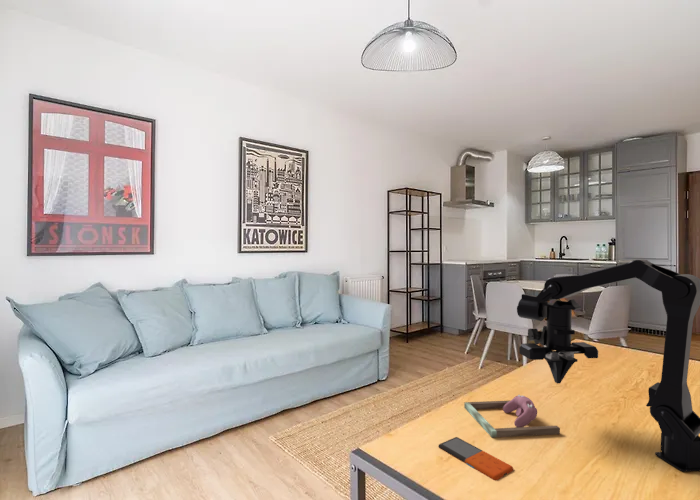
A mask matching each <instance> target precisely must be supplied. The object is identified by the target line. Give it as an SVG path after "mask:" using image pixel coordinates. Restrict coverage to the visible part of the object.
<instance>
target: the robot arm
mask: <svg viewBox="0 0 700 500" xmlns="http://www.w3.org/2000/svg"><path fill="white" fill-rule="evenodd" d="M632 279H638V280H640V281H641V282H643V283H645V284H646V285H648V286H649V287H650V288H652V289H654V290H656V291H658V292H661V297H662V298H661V299H662V304H663V307H664V312H665V314H666V324H665V325H666V327H665V337H664V348H663V357H662V358H663V359H662V367H661V376H660V382H659V381H657V382H656V383H655V384H652V385H651V386H649V387H648V390H647V391H648V393H647V394H648V402H647V403H646V405H645V406H646V407H649V412H650V416H651V417H652V418H653V419H654V420H655V422H657V423H658V426H659V428H660V429H659V430H660V432H661V433H660V451H655V453H654V455H655V456H656V457H658V458H659V459H660V460H663V461H664V462H666V463H667V464H669V465H670V466H672V467H674V468H676V469H677V470H678V471H680V472H684V473H685V472H700V471H699V470H700V416H699V415H698V414H697V413H696V412H694V410H693V403H692V396H691V391H690V389H689V386H688V375H689V374H688V373H689V364H690V353H691V346H692V345H691V344H692V334H693V323H694V318H695V316H696V314H697V312H698V310H699V307H700V278H699V277H698V276H696V275H693V274H689V273H687V274H686V273H683V274H681V273H679V272H676V271H674V270H671V269H668V268H666V267H662V266H660V265H658V264H655V263H653V262H651V261H649V260H647V259H635V260H634V259H633V260H631V261H629V262H626V263H623V264H617V265H614V266H611V267H607V268H603V269H599V270H595V271H591V272H586V273H583V274H573V275H562V276H561V275H560V276H553V277H549V278H547V279H546V280H545V283H544V286H543V288H542V289H541V291H540V292H539V293H538V295H532V294H530V293H523V294H521V298H520V299H519V301H518V304H517V306H516V314H517V316H518V317H519V318H523V319H528V320H534V321H539V322H542V321H544V320H545V319H546V325H543V328H542V331H541V330H540V331H538V329H537V328H529V329H527V338H528V340H529V342H530V343H528V342H527V343H525V342H524V343H521V344H520V346H519V349H518V350H519V352H518V353H519V355H522V356H523V357H525V358H527V359H529V360H531V361H538V360H539V361H541V360H545V361H546V362H547V365H548V367H549V369H550V372H551V375H552V378H553V381H554V383H555V384H558V385H559V384H561V383H562V382H563V380H564V378H565V377H566V375H567V373H568V371H569V370H570V369H571V368H572V366H573V365H574V364H575V363H577V362H578V360H579V359H578V358H575V355H578V354H581V355H582V354H583V355H584V356H585V357H586V358H587V359H598V358H599V350H598V348H597V347H596V346H595V345H592V344H589V343H587V342H583V341H581V342H580V341H579V342H578V341H575V342H572V335H575V334H576V333H575V332H576V331H575V330H574V329H572V317H573V316H572V315H573V314H572V313H573V311H576V310H580V309H582V306H581V305H580V304H579V303H578V302H577V301H576V300H575V299H573V298H572V299H569V300H568V301H564V300H561V299H566V298H570V297H573V296H576V295H578V294H581V293H583V292H585V291H586V290H589V289H592V288H596V287H602V286H605V285H610V284H615V283H617V282H618V283H619V282H624V281H628V280H632ZM555 300H556V301H555ZM549 301H550V302H549ZM551 301H554V302H551ZM531 341H533V342H531ZM541 345H542V346H541Z"/></svg>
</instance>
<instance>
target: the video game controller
mask: <svg viewBox="0 0 700 500" xmlns="http://www.w3.org/2000/svg"><path fill="white" fill-rule="evenodd" d="M510 400H511V401H510ZM510 400H508V401H509V402H508V403H506V404H505V405H504V406H503V408H502V410H503V413H506V414H507V413H508V414H509V413H513V412H515V415H516V416H517V417H516V419H515V420H514V426H515V428H516V427H527V425H529V424H530V423H531V422H533V421H534V420H536V419H537V418H536V417H537V416H538V408H537V407H536V406H535V404H534V403H535V402H533V401H532V399H531V398H529V397H528V396H525V395H520V394H518V395H516V396H514V397H513V398H512V399H510Z"/></svg>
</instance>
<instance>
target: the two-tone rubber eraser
mask: <svg viewBox="0 0 700 500" xmlns="http://www.w3.org/2000/svg"><path fill="white" fill-rule="evenodd" d="M438 448H439V449H440V450H442V451H444V452H445V453H447V454H449V455H450V456H452V457H453V458H456V459H458V460H459V461H460V462H461V463H464V464H466V465H468V467H471V468H473V469H474V470H475V471H477V472H479V473H481V474H483V475H485V476H486V477H488V478H490V479H492V480H493V481H498V480H499V479H501V478H503V477H504V476H505V475H508V474H510V473H511V472H513V471H514V467H513V466H512V465H511V464H509V463H507V462H506V461H504V460H502V459H499V458H498V457H495V456H494V455H491V454H490V453H488V452H486V451H485V450H482V449H481V448H479V447H476V446H475V445H473V444H471V443H469V442H467V441H465V440H464V439H461V438H460V437H458V436H455V437H453V438H450V439H448V440H445V441H443V442H442V443H441V442H440V443H439V444H438Z"/></svg>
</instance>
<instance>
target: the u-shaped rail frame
mask: <svg viewBox="0 0 700 500" xmlns="http://www.w3.org/2000/svg"><path fill="white" fill-rule="evenodd" d="M511 400H512V399H510V400H491V401H487V400H486V401H466V402H463V403H464V404H463V405H464V407H463V408H464V409H465V410H466V411H467V412H468V413H469V415H471V416H472V418H473V419H474V420H475V421H476V422H477V423H478V424H479V426H480V427H481V428H482V429H483V430H484V431H485V432H486V433H487V434H488V435H489V436H490V437H491V438H509V437H525V436H527V437H528V436H544V435H545V436H546V435H548V436H549V435H560V434H561V427H559V426H558V425H544V426H543V425H542V426H541V425H540V426H524V427H516V426H515V427H502V428H501V427H500V428H499V427H498V428H494V426H492V425H491V423H489V421H487V420H486V418H484V416H483V415H482V414H481V413H480V412H479V411H478V410H486V409H503V406H504V405H505V404H506V403H508V402H509V401H511Z"/></svg>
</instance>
